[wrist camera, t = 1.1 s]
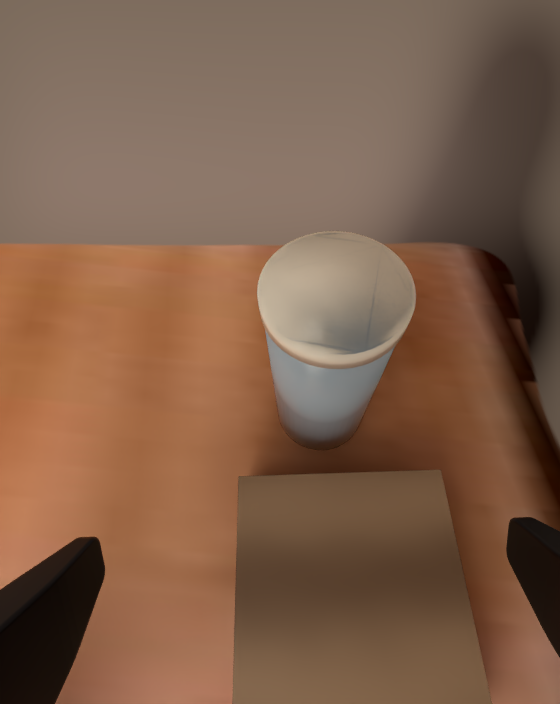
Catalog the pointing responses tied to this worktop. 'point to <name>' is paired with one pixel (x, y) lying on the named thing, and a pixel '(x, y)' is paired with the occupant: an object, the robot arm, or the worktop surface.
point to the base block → (352, 593)
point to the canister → (331, 330)
